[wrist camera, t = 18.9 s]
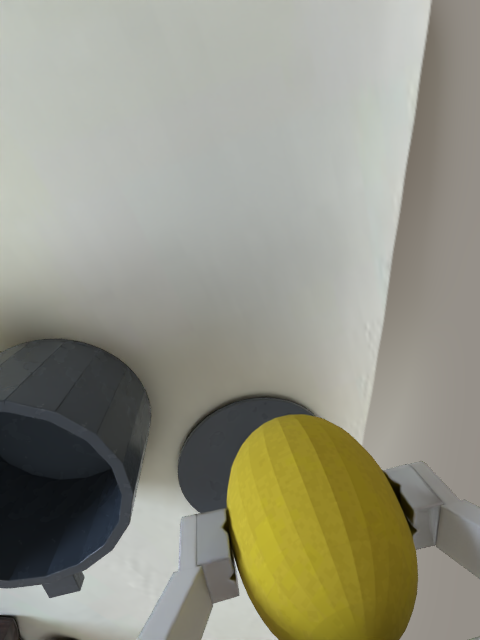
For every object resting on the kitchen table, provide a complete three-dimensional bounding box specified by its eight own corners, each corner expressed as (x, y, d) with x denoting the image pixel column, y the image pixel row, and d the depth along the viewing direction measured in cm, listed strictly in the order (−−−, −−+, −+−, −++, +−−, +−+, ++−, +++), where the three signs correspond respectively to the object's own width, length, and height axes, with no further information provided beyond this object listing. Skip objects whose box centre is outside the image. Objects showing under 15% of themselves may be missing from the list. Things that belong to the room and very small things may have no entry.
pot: (21, 514, 32) (-47, 632, 23) (-79, 327, 24) (-235, 390, 16) (172, 481, 33) (163, 580, 24) (118, 294, 26) (78, 335, 17)
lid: (194, 530, 36) (194, 573, 31) (162, 412, 30) (157, 445, 26) (330, 498, 37) (348, 535, 33) (324, 379, 31) (344, 405, 27)
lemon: (344, 454, 15) (491, 690, 8) (238, 491, 15) (283, 770, 7) (323, 360, 13) (494, 556, 6) (201, 402, 13) (210, 659, 6)
